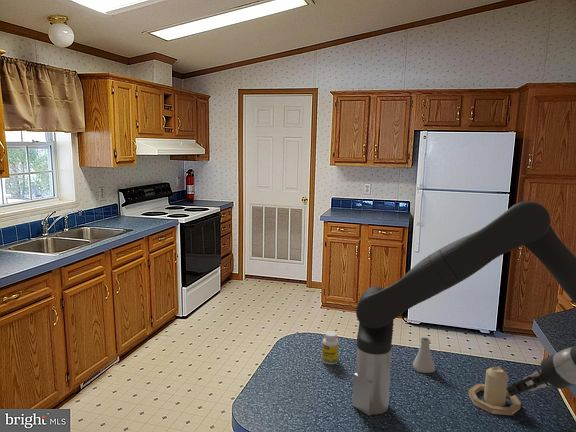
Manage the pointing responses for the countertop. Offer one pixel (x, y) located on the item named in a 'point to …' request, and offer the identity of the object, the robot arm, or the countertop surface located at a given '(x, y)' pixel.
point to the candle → (495, 386)
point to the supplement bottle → (330, 348)
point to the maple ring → (490, 408)
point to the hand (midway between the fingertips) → (519, 388)
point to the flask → (424, 358)
